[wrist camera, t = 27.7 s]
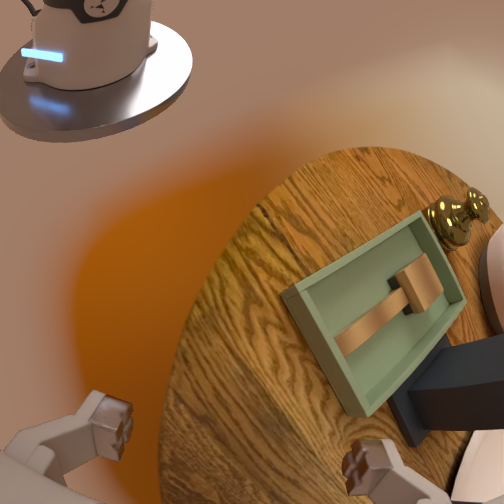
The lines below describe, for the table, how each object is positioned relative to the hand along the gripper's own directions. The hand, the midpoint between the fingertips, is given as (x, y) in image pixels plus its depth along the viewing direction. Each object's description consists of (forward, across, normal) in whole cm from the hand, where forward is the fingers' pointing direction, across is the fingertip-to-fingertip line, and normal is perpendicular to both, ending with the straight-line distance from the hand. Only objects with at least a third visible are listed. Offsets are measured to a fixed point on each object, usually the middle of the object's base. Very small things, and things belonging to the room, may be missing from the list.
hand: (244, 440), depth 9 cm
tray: (+22, -15, +1) cm, 26 cm away
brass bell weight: (+32, -25, -8) cm, 41 cm away
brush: (+20, -14, +1) cm, 25 cm away
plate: (+13, -43, +23) cm, 50 cm away
